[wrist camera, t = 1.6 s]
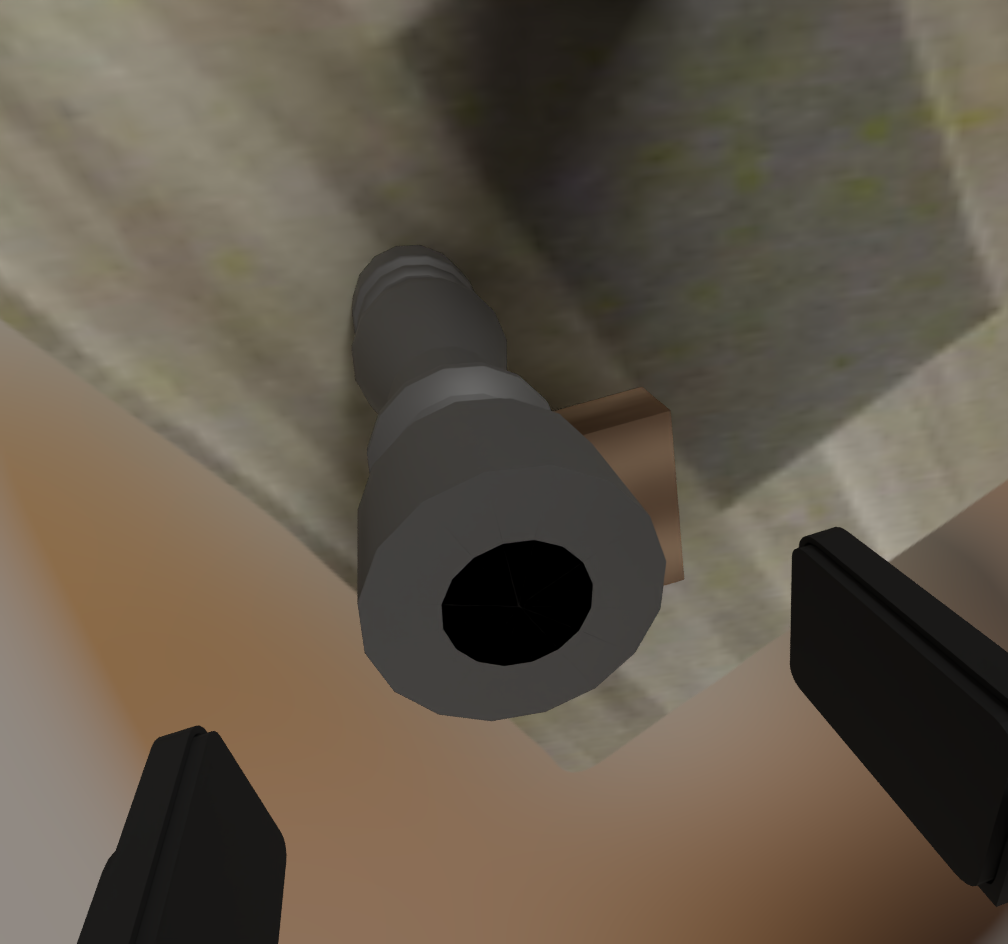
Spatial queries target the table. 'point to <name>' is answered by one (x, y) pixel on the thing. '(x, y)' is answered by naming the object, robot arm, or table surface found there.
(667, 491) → the walnut plinth
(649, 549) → the candle holder
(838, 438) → the table surface
